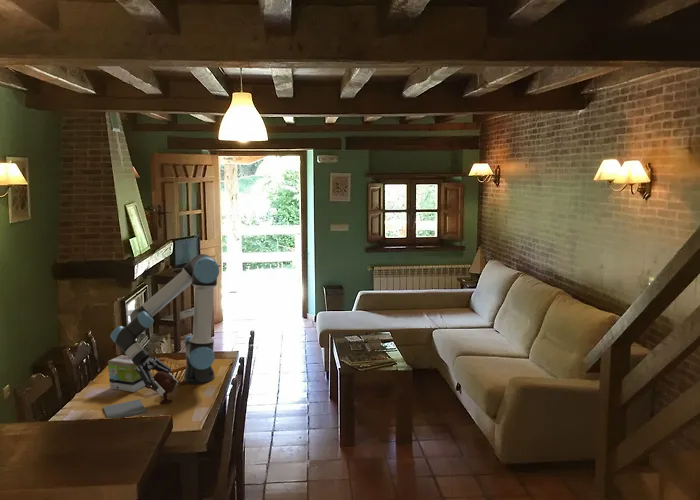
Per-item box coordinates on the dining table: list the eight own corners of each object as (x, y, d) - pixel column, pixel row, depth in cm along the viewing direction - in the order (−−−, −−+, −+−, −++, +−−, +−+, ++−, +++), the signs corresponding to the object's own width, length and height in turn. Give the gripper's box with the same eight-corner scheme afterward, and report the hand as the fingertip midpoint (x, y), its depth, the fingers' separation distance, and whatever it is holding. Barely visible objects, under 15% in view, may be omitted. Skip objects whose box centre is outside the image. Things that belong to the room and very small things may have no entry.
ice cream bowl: (171, 407, 279) (168, 375, 277) (148, 406, 281) (146, 374, 279) (182, 398, 289) (179, 367, 287) (160, 397, 292) (157, 366, 290)
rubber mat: (139, 400, 288) (139, 399, 288) (146, 412, 275) (146, 410, 274) (103, 408, 281) (102, 406, 281) (108, 420, 267) (108, 419, 267)
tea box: (109, 389, 305) (106, 360, 303) (123, 382, 314) (121, 354, 312) (133, 392, 299) (131, 363, 297) (147, 385, 309) (145, 356, 307)
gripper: (147, 352, 298) (178, 385, 296) (117, 368, 276) (151, 403, 274) (156, 341, 296) (188, 375, 294) (126, 357, 273) (160, 393, 272)
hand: (170, 388), depth 284 cm, fingers closed on ice cream bowl, 11 cm apart
